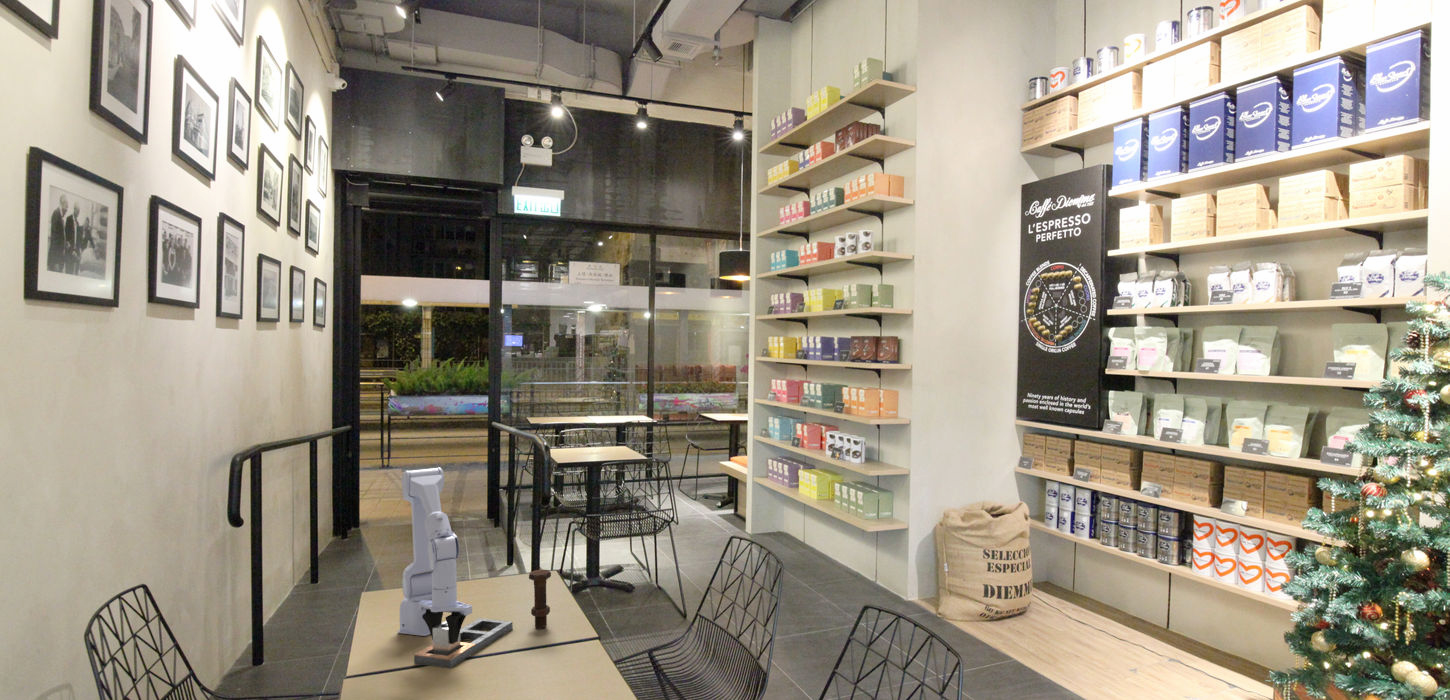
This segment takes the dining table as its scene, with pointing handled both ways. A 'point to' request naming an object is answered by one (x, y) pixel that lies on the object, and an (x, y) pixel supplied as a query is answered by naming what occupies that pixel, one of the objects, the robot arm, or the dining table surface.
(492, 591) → the dining table surface
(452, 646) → the grey rectangular block
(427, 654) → the frame with rectangular openings
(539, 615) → the bolt
